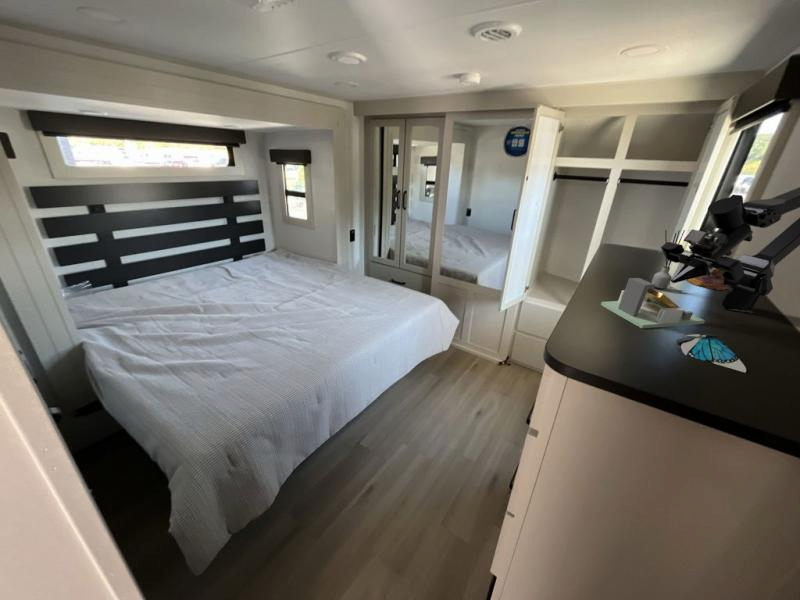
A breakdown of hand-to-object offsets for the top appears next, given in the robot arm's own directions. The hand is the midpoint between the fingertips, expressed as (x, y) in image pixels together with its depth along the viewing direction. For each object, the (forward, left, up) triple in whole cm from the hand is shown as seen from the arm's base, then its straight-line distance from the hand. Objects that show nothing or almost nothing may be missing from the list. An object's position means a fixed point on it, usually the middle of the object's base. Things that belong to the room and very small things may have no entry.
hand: (672, 281), depth 86 cm
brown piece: (-22, -39, -10) cm, 46 cm away
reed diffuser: (-4, -26, -10) cm, 28 cm away
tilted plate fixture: (+2, +2, -10) cm, 10 cm away
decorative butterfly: (-5, +20, -10) cm, 23 cm away
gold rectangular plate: (-2, -1, -8) cm, 8 cm away
